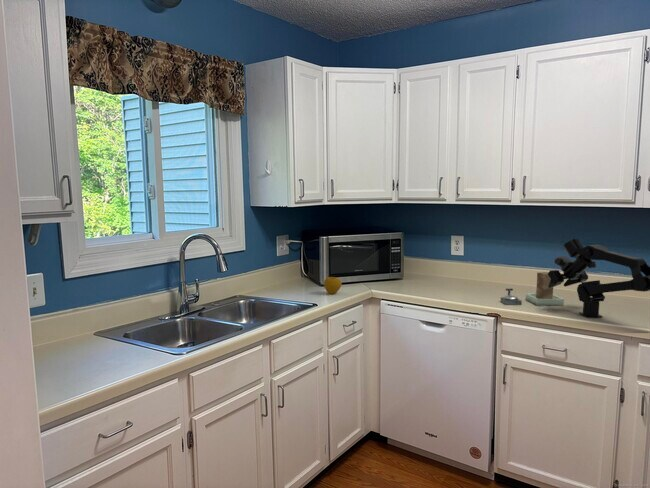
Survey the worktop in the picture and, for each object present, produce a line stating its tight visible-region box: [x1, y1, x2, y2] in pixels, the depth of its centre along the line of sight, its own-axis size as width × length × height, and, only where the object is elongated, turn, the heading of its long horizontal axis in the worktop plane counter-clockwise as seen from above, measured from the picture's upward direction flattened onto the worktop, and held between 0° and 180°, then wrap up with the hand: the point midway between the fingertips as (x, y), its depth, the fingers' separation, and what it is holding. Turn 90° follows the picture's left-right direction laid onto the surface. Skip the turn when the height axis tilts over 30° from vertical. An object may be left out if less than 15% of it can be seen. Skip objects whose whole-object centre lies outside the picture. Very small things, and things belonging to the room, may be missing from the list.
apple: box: [323, 276, 342, 295], centre depth 242 cm, size 9×9×9 cm
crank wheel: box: [503, 288, 519, 300], centre depth 221 cm, size 6×6×4 cm
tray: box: [525, 292, 565, 307], centre depth 223 cm, size 12×12×3 cm
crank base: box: [500, 296, 523, 306], centre depth 222 cm, size 7×7×2 cm
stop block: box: [535, 271, 554, 299], centre depth 222 cm, size 5×5×13 cm
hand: (556, 286), depth 216 cm, fingers open, 9 cm apart
